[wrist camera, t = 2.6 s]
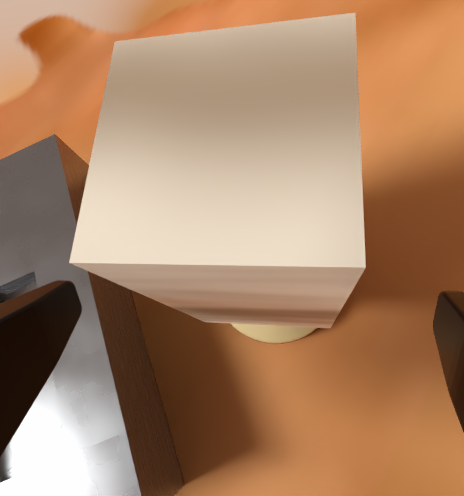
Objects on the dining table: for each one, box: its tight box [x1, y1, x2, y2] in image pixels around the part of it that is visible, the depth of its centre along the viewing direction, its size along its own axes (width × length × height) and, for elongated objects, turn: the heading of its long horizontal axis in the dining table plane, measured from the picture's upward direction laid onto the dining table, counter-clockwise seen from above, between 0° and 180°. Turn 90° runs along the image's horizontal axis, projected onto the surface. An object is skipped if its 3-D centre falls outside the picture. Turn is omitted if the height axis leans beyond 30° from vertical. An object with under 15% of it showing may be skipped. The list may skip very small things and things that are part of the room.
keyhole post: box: [69, 13, 366, 344], centre depth 13 cm, size 6×6×13 cm
